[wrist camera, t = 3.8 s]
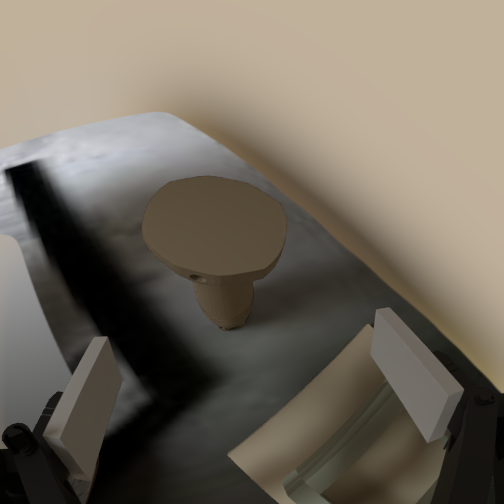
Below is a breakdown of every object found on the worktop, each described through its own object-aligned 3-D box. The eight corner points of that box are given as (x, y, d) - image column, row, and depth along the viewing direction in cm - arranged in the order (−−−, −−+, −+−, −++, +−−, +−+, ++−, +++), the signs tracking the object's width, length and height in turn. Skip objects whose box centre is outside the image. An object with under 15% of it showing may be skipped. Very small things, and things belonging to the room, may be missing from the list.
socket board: (228, 453, 22) (223, 466, 17) (364, 326, 27) (389, 308, 22) (386, 577, 15) (409, 599, 10) (491, 459, 20) (526, 461, 15)
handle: (258, 349, 26) (273, 289, 12) (185, 330, 27) (126, 252, 13) (271, 296, 28) (295, 192, 15) (201, 279, 29) (166, 167, 15)
